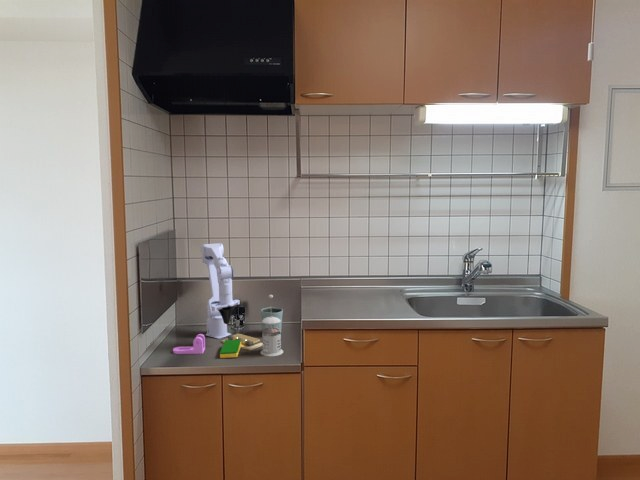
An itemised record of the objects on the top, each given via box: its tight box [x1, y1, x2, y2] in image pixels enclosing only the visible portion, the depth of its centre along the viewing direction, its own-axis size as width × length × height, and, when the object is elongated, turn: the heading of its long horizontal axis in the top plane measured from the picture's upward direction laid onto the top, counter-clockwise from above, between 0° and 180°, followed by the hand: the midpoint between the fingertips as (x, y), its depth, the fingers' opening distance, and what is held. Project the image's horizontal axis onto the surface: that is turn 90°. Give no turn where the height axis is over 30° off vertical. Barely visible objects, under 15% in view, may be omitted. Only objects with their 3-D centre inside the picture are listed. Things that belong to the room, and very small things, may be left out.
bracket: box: [172, 333, 206, 355], centre depth 209 cm, size 13×6×7 cm, turn 91°
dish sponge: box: [219, 339, 242, 359], centre depth 208 cm, size 7×14×2 cm, turn 1°
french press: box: [259, 294, 284, 357], centre depth 208 cm, size 10×12×25 cm
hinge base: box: [220, 334, 263, 351], centre depth 219 cm, size 18×9×3 cm, turn 53°
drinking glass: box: [260, 306, 284, 336], centre depth 231 cm, size 10×10×12 cm
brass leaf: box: [231, 333, 261, 344], centre depth 219 cm, size 14×7×2 cm, turn 53°
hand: (226, 323), depth 216 cm, fingers closed
